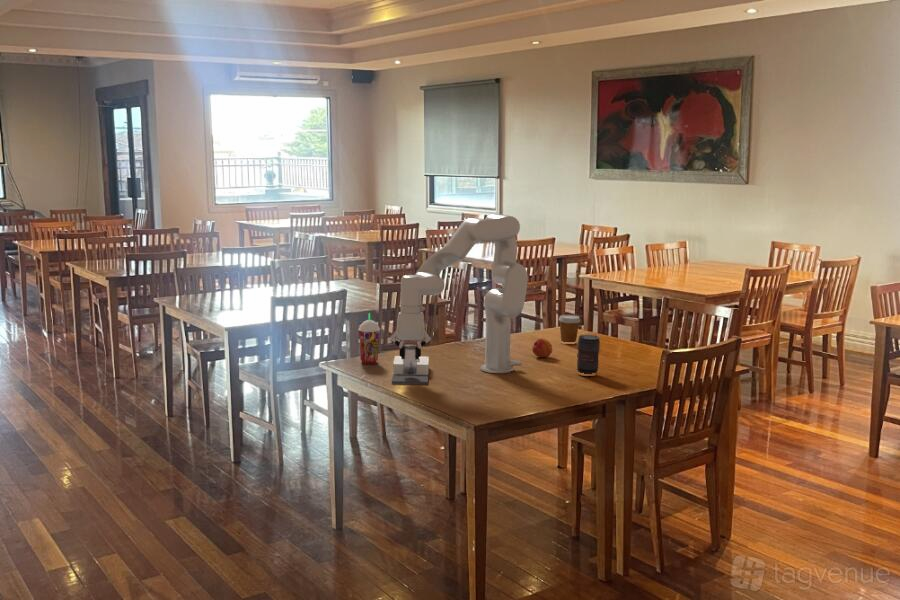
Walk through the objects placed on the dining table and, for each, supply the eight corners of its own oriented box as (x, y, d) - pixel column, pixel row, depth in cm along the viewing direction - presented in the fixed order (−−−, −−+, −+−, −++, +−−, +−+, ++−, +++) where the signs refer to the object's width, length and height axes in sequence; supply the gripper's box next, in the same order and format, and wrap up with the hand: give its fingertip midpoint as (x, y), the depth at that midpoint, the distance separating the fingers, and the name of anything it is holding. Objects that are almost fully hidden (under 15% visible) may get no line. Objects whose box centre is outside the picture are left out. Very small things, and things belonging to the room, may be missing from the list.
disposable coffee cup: (573, 346, 382) (574, 319, 380) (554, 343, 387) (555, 317, 385) (582, 342, 390) (584, 316, 388) (563, 340, 395) (564, 313, 393)
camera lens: (580, 378, 329) (582, 339, 326) (573, 372, 337) (575, 334, 334) (600, 377, 330) (602, 338, 327) (594, 372, 338) (596, 334, 335)
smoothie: (376, 366, 341) (376, 315, 338) (355, 364, 343) (355, 314, 339) (382, 361, 349) (382, 311, 346) (362, 359, 351) (362, 310, 347)
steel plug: (416, 371, 322) (417, 344, 321) (416, 374, 317) (417, 347, 316) (403, 370, 322) (403, 344, 321) (402, 374, 317) (403, 347, 316)
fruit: (532, 354, 365) (533, 336, 364) (552, 355, 364) (553, 337, 363) (531, 359, 357) (532, 340, 356) (551, 360, 356) (552, 341, 355)
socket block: (428, 367, 340) (428, 356, 339) (428, 376, 327) (428, 364, 326) (394, 367, 340) (395, 356, 339) (393, 375, 327) (393, 364, 326)
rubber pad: (428, 377, 325) (428, 374, 325) (427, 384, 316) (427, 381, 315) (393, 376, 325) (393, 374, 325) (391, 383, 315) (391, 381, 315)
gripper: (434, 308, 320) (433, 356, 323) (387, 307, 320) (387, 355, 323) (434, 311, 312) (433, 361, 315) (386, 310, 312) (386, 360, 315)
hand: (410, 358), depth 319 cm, fingers closed on steel plug, 5 cm apart
